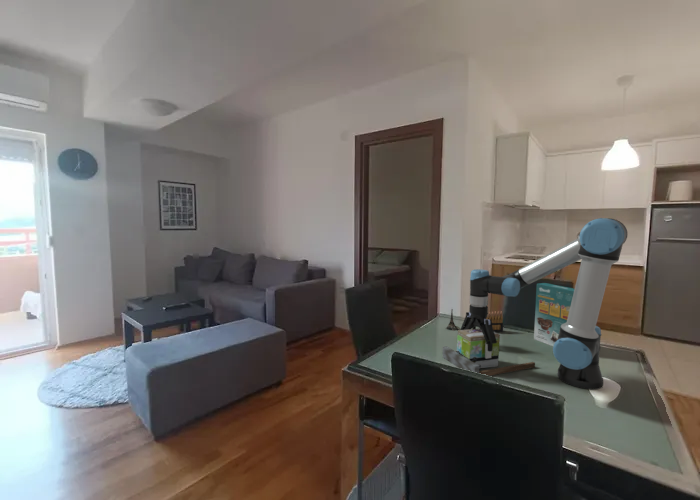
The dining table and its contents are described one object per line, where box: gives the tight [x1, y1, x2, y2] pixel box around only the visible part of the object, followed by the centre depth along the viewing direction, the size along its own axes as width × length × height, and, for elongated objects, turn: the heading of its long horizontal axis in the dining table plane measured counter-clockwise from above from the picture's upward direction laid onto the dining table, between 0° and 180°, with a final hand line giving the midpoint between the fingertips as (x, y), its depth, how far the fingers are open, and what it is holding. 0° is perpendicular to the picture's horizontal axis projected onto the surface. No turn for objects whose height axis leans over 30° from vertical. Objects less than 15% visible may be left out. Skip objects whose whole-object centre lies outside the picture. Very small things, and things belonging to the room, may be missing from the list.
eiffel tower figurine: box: [445, 308, 461, 332], centre depth 198 cm, size 15×10×13 cm
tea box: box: [456, 328, 501, 369], centre depth 150 cm, size 15×10×15 cm
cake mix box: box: [533, 282, 575, 347], centre depth 172 cm, size 22×6×30 cm, turn 22°
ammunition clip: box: [486, 310, 504, 333], centre depth 194 cm, size 11×2×12 cm, turn 96°
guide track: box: [442, 346, 536, 377], centre depth 153 cm, size 22×32×5 cm
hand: (477, 352), depth 151 cm, fingers open, 13 cm apart
